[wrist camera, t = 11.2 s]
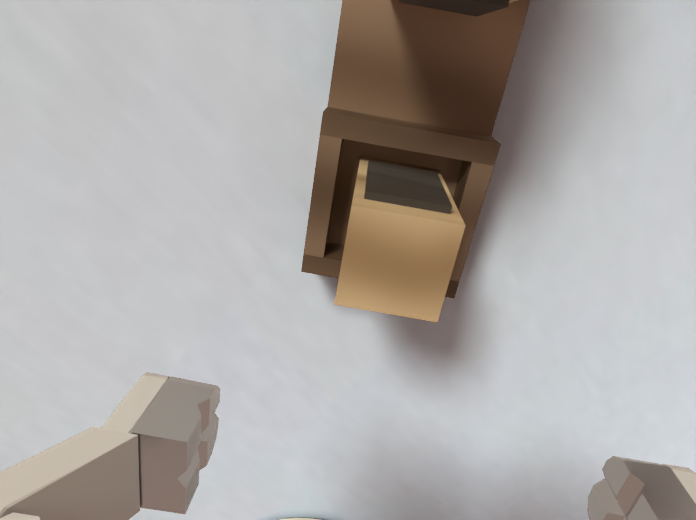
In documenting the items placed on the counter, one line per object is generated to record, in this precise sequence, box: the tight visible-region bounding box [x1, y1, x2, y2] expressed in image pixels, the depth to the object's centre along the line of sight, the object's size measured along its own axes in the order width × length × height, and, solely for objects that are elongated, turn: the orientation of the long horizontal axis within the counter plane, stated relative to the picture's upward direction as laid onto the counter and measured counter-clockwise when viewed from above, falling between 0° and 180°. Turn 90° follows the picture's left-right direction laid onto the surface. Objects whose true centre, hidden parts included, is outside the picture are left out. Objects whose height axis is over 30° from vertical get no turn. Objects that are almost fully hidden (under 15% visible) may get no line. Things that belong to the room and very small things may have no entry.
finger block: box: [334, 156, 465, 322], centre depth 20 cm, size 4×4×8 cm
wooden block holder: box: [301, 0, 530, 298], centre depth 19 cm, size 19×8×10 cm, turn 171°
